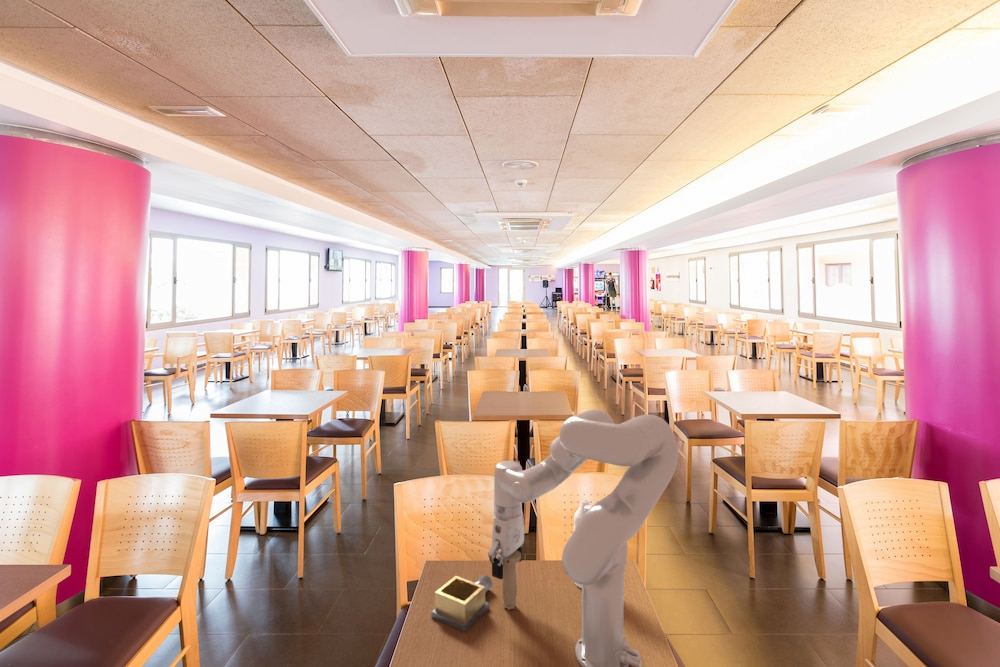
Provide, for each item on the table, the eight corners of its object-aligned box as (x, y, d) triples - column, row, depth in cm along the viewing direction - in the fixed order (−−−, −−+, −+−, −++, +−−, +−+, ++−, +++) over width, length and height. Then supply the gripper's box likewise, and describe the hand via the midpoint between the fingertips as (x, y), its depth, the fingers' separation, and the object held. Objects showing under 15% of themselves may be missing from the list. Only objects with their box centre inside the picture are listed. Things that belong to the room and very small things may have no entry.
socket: (502, 594, 135) (502, 572, 134) (464, 632, 120) (464, 607, 119) (471, 582, 141) (471, 561, 140) (431, 617, 126) (431, 593, 125)
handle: (520, 613, 126) (519, 559, 125) (496, 611, 127) (495, 557, 126) (522, 602, 131) (521, 550, 130) (499, 600, 132) (498, 548, 131)
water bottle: (572, 577, 143) (571, 496, 141) (593, 576, 143) (593, 495, 141) (578, 595, 134) (578, 509, 132) (600, 594, 134) (600, 508, 133)
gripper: (502, 524, 118) (501, 589, 120) (535, 499, 133) (534, 558, 134) (478, 517, 122) (477, 579, 124) (512, 493, 137) (511, 550, 138)
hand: (507, 568), depth 129 cm, fingers open, 9 cm apart
